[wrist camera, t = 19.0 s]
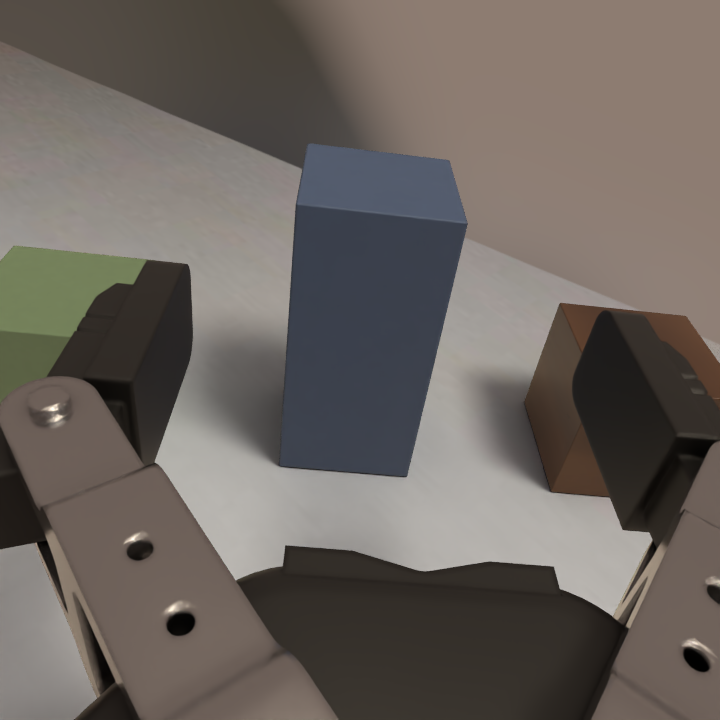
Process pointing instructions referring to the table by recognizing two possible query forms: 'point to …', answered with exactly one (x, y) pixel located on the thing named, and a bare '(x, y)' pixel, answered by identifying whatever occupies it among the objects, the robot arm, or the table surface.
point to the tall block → (366, 306)
